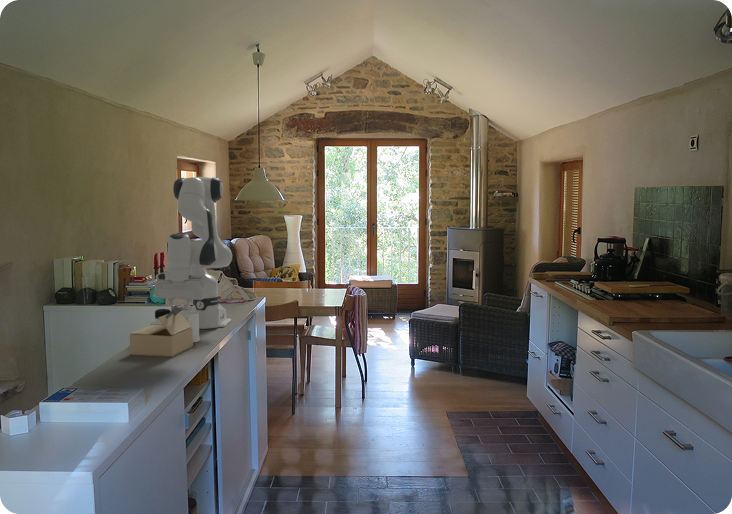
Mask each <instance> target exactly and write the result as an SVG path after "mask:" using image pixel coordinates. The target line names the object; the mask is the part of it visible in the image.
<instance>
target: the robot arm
mask: <svg viewBox="0 0 732 514" xmlns="http://www.w3.org/2000/svg"><path fill="white" fill-rule="evenodd" d="M224 190H225V189H224V184H223V182H222V180H221V179H220V178H218V177H207V176H195V177H193V176H192V177H179V178H176V180H175V181H174V182H173V187H172V192H173V196H174V198H175V199H176V200H177V211H178V213H179V215H180V216H181V217H182V218H184V219H185V220H187V221H189V222H191V223H190V225H191V232H192V233H193V235H194V236H196V237H198V238H200V240H191V239H190V235H189V234H187V233H182V232H180V233H179V232H177V233H172V234H170V235H169V236H168V240H167V260H168V264H167V270H166V271H164V272H160V273H157V274H156V275H155V280H156V281H155V283H154V296H155V297H156V299H167V301H168V303H169V305H170V310H172V308H174V307H177V306H178V305H177V304H175V303H174V301H175V300H186V302H187V303H186V305H184V308H185V309H184V312H189V311H193V312H198V313H199V330H201V329H202V330H205V329H206V330H208V329H216V328H225V327H226V326H227V325H229V324H230V323H231V322H232V318H229V317H227V309H226V308H224V307H223V305H221V304H220V303H221V300H222V295H218V293H219V292H218V291H219V290H218V281H217V279H216V278H215V276H213V275H210V274H209V273H208V272H207V269H219V268H225V267H228V266H229V265H230V264H231V262H232V261H233V253H232V250H231V249H230V248H229V246H227V245H226V244H225V243H224V242H223V241H222V240H221V238H220V236H219V234H218V230H217V223H216V222H217V220H216V218H217V217H216V207H215V203H217V202H218V201H220V200H221V198H222V197H223V195H224ZM191 305H192V307H191ZM190 307H191V308H190Z"/></svg>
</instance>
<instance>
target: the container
mask: <svg viewBox="0 0 732 514" xmlns="http://www.w3.org/2000/svg"><path fill="white" fill-rule="evenodd" d="M170 312H171V309H169V308H158V309H157V310H155V311H154V321H152V322H150V324H149V326H151V325H163V324H162V323H161V321H160V320H159V319H158V317H161V316H164V315H167V314H169V313H170Z"/></svg>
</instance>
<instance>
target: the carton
mask: <svg viewBox="0 0 732 514" xmlns="http://www.w3.org/2000/svg"><path fill="white" fill-rule="evenodd" d="M193 347H194V343H193V329H192V328H188V329H186V330H183V331H181V332H179V333H176V334H174V335H171V334H170V333H169V332H168V330H167V329H166V328H165V326H164V325H151V326H150V325H149V326H146V327H143V328H141V329H138V330H135V331H132V332H130V334H129V354H130V356H132V355H133V356H147V357H148V356H149V357H165V358H173V357H174V358H175V357H176V356H178V355H180V354H182V353H184V352H186V351H188V350H190V349H192V348H193Z"/></svg>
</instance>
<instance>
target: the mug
mask: <svg viewBox="0 0 732 514" xmlns="http://www.w3.org/2000/svg"><path fill="white" fill-rule="evenodd" d="M180 313H181V314H182V315H183V316H184V318H185V319H186V320H187V322H188V323H189V324H190V325H191V327H190V328H192V329H193V344H194V343H197V342H199V341H200V340H201V339H200V329H199V313H198V312H193V311H191V310H189V311H181V312H180Z"/></svg>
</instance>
